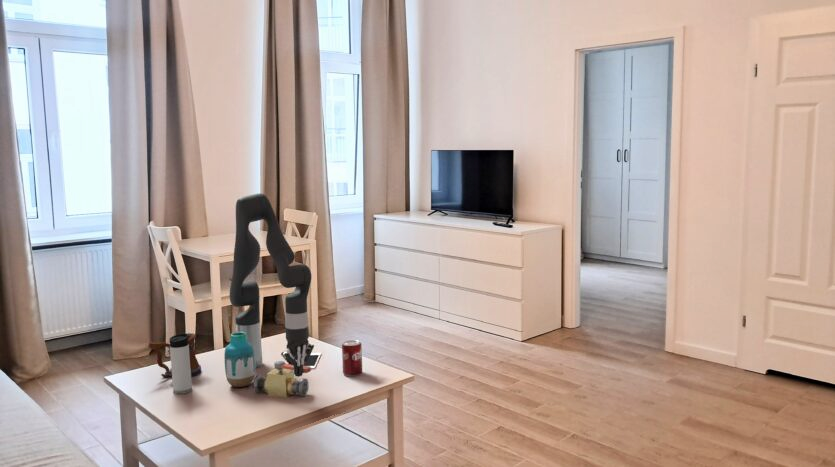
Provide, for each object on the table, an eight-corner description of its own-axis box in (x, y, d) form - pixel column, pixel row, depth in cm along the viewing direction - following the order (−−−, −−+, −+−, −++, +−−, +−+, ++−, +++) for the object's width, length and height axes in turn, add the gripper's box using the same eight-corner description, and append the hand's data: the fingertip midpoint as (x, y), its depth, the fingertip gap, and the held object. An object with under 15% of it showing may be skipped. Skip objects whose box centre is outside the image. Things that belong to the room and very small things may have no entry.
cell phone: (321, 354, 271) (321, 352, 271) (314, 370, 253) (314, 367, 253) (299, 355, 271) (299, 353, 271) (291, 370, 253) (291, 368, 253)
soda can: (364, 370, 250) (363, 339, 249) (360, 377, 243) (359, 345, 241) (345, 370, 251) (344, 339, 249) (341, 377, 244) (339, 345, 242)
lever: (272, 368, 227) (272, 363, 227) (279, 365, 230) (278, 360, 230) (305, 374, 220) (305, 369, 220) (311, 370, 224) (311, 366, 223)
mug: (154, 384, 240) (150, 344, 238) (149, 375, 250) (145, 337, 248) (204, 374, 249) (201, 336, 247) (197, 366, 259) (195, 329, 257)
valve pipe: (253, 394, 229) (252, 369, 227) (262, 388, 234) (261, 363, 233) (301, 399, 224) (299, 373, 222) (308, 392, 229) (307, 367, 228)
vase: (240, 378, 245) (236, 328, 242) (262, 382, 240) (259, 331, 237) (219, 388, 235) (216, 336, 233) (243, 392, 231) (239, 339, 228)
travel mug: (196, 387, 236) (192, 333, 233) (184, 394, 230) (180, 339, 227) (181, 386, 238) (177, 332, 235) (169, 392, 232) (165, 337, 229)
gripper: (289, 331, 210) (291, 383, 213) (319, 322, 221) (321, 372, 223) (273, 327, 215) (275, 379, 217) (303, 319, 225) (305, 368, 227)
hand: (298, 375), depth 220 cm, fingers closed
